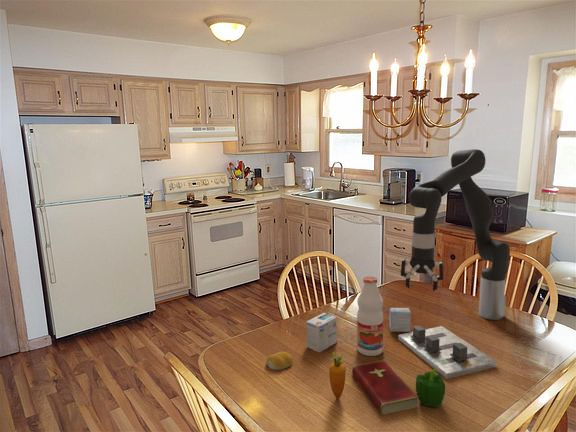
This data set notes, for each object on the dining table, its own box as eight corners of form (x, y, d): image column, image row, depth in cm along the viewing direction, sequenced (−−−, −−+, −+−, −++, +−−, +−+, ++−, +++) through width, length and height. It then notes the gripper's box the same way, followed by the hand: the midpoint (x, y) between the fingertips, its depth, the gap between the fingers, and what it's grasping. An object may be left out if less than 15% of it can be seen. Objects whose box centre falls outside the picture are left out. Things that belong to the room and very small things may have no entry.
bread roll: (296, 365, 144) (296, 354, 143) (275, 373, 139) (274, 363, 138) (284, 355, 151) (283, 345, 150) (263, 363, 146) (262, 352, 145)
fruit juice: (379, 343, 156) (379, 273, 151) (385, 356, 147) (386, 282, 142) (354, 344, 156) (354, 274, 151) (359, 357, 147) (359, 283, 141)
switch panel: (441, 330, 164) (442, 325, 164) (496, 366, 138) (496, 361, 138) (398, 339, 159) (398, 334, 158) (446, 379, 132) (446, 373, 132)
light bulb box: (324, 337, 163) (324, 311, 161) (337, 342, 158) (337, 316, 156) (306, 347, 155) (305, 320, 153) (319, 353, 151) (318, 326, 149)
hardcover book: (381, 417, 116) (381, 403, 116) (352, 376, 136) (352, 364, 136) (418, 409, 119) (419, 396, 118) (384, 370, 139) (385, 359, 138)
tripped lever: (460, 352, 143) (461, 341, 142) (469, 358, 139) (469, 347, 138) (450, 355, 142) (450, 344, 141) (458, 361, 138) (458, 349, 137)
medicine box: (408, 327, 168) (408, 307, 167) (410, 332, 164) (411, 312, 162) (388, 327, 169) (389, 307, 167) (390, 332, 165) (390, 312, 163)
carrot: (328, 394, 127) (327, 350, 124) (344, 393, 127) (343, 348, 124) (331, 404, 122) (330, 358, 119) (347, 403, 122) (347, 357, 119)
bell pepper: (429, 415, 116) (430, 383, 114) (409, 398, 123) (410, 368, 121) (451, 406, 119) (453, 375, 117) (431, 390, 127) (432, 361, 125)
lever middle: (434, 344, 149) (434, 334, 148) (441, 350, 145) (441, 339, 144) (423, 347, 148) (424, 336, 147) (430, 352, 144) (431, 341, 143)
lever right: (420, 335, 156) (421, 324, 156) (427, 339, 153) (427, 329, 152) (410, 337, 155) (411, 326, 154) (417, 341, 151) (417, 331, 151)
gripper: (445, 243, 143) (442, 287, 146) (403, 240, 148) (401, 283, 151) (444, 249, 136) (442, 295, 139) (400, 246, 142) (399, 290, 145)
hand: (421, 289), depth 145 cm, fingers open, 8 cm apart
